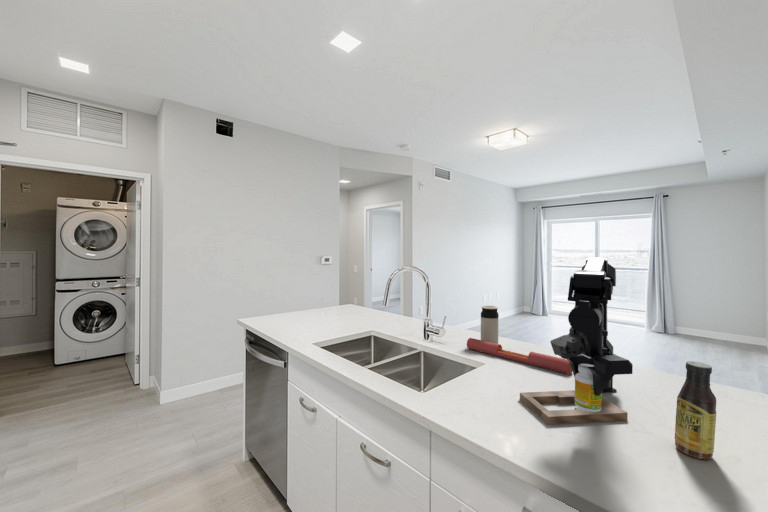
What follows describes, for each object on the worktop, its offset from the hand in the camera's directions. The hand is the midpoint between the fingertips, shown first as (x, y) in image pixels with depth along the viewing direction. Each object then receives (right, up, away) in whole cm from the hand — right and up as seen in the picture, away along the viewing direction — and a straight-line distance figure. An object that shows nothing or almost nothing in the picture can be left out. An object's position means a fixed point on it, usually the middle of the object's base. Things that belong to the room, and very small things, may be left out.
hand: (587, 390), depth 76 cm
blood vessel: (+5, -11, +55) cm, 56 cm away
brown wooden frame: (+4, -11, +14) cm, 18 cm away
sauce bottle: (+20, -12, -6) cm, 24 cm away
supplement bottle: (0, -4, 0) cm, 4 cm away
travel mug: (+1, -10, +76) cm, 77 cm away
